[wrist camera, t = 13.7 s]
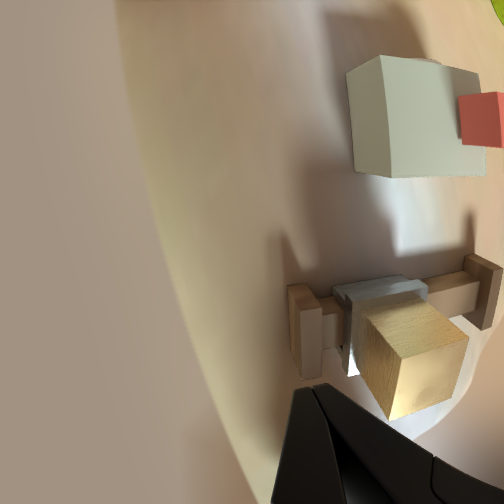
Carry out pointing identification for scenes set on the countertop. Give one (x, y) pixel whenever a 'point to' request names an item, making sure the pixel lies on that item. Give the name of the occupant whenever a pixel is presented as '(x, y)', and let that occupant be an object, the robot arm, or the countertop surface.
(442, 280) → the brown i-shaped bar
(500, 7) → the soap dispenser
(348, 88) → the cabinet
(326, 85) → the countertop surface
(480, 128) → the red cube
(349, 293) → the carriage
